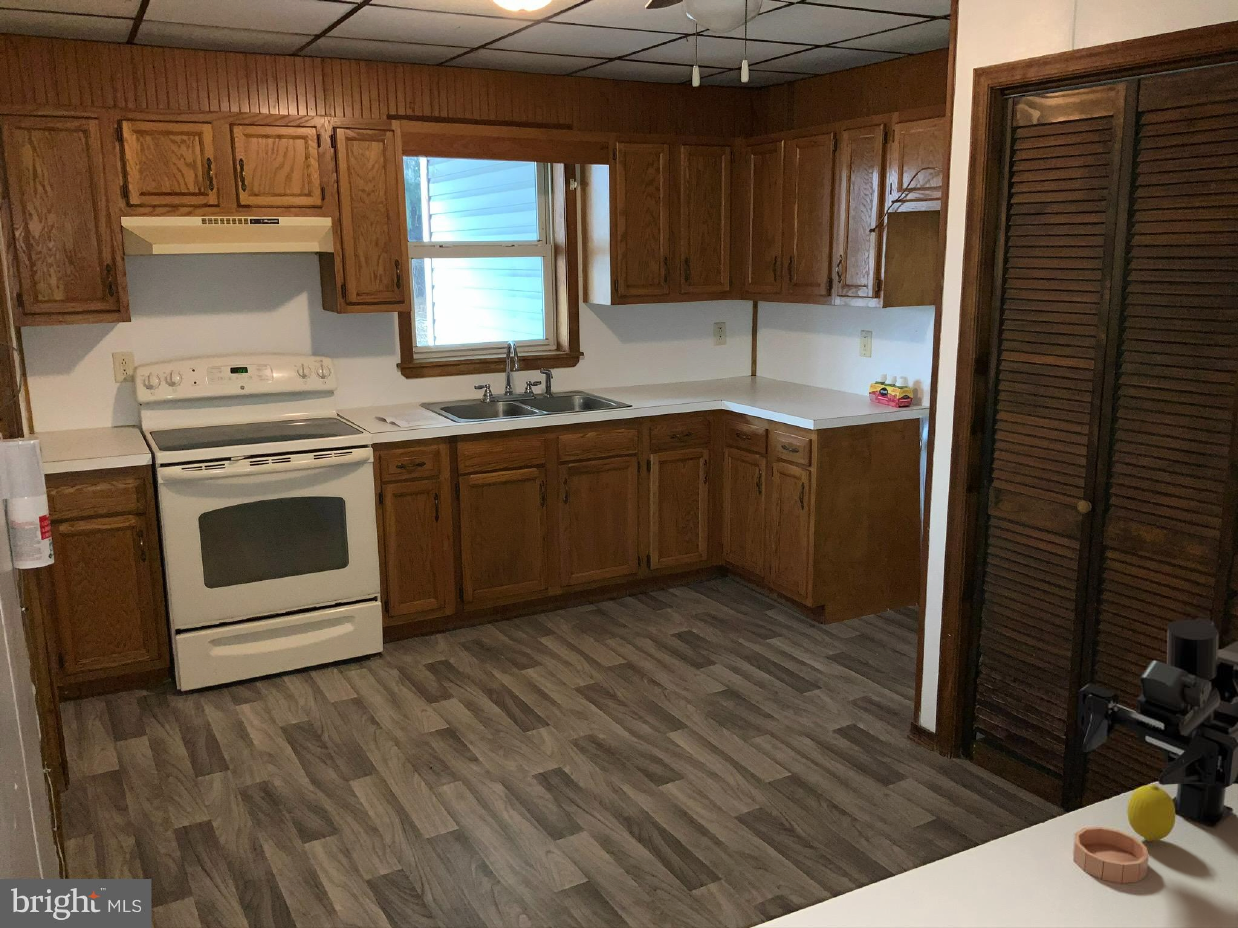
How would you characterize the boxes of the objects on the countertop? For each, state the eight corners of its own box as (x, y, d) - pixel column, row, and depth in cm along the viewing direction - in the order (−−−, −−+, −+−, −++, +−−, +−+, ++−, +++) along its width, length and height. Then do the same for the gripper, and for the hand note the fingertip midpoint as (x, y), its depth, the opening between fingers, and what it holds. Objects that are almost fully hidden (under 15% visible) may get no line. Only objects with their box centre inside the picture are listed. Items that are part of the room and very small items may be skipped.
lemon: (1178, 854, 129) (1184, 797, 127) (1131, 850, 130) (1137, 793, 128) (1164, 831, 134) (1170, 776, 133) (1119, 827, 135) (1125, 772, 134)
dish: (1092, 837, 133) (1094, 819, 132) (1157, 865, 127) (1159, 847, 126) (1060, 859, 128) (1062, 842, 127) (1126, 890, 122) (1128, 872, 121)
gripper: (1112, 629, 134) (1050, 678, 125) (1267, 680, 120) (1209, 739, 111) (1108, 700, 138) (1047, 752, 129) (1257, 757, 124) (1201, 820, 115)
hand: (1121, 763), depth 121 cm, fingers open, 9 cm apart
